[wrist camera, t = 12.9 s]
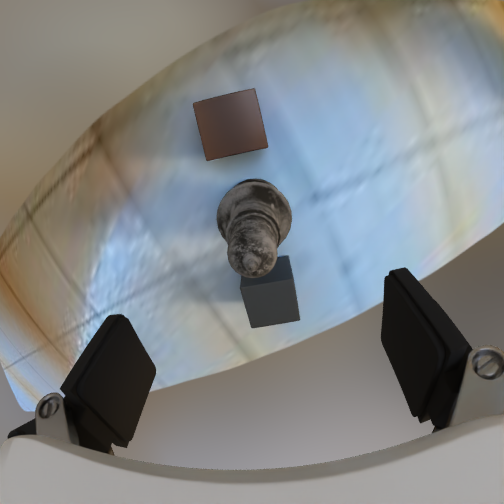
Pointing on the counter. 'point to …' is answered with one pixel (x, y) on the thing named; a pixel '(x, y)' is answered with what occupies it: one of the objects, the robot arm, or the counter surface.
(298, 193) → the counter surface
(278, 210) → the stone chess piece
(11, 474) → the robot arm
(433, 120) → the counter surface
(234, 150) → the walnut block
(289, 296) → the slate block
